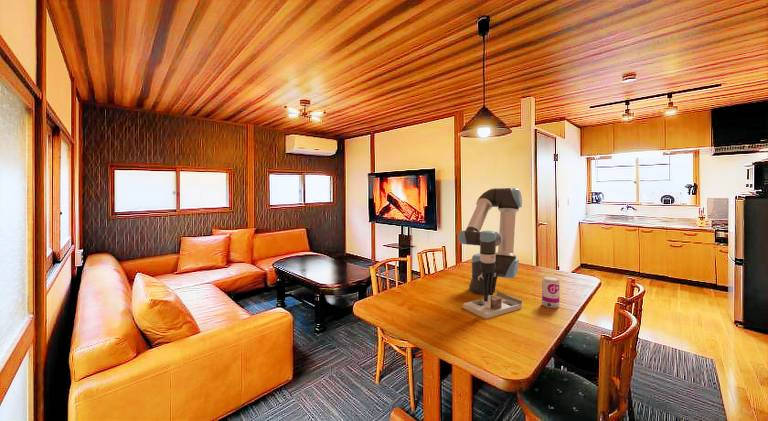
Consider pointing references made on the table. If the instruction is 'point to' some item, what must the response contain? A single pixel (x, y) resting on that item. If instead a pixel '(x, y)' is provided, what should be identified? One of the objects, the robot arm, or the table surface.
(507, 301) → the box
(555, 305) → the soda can
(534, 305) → the table surface
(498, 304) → the block
